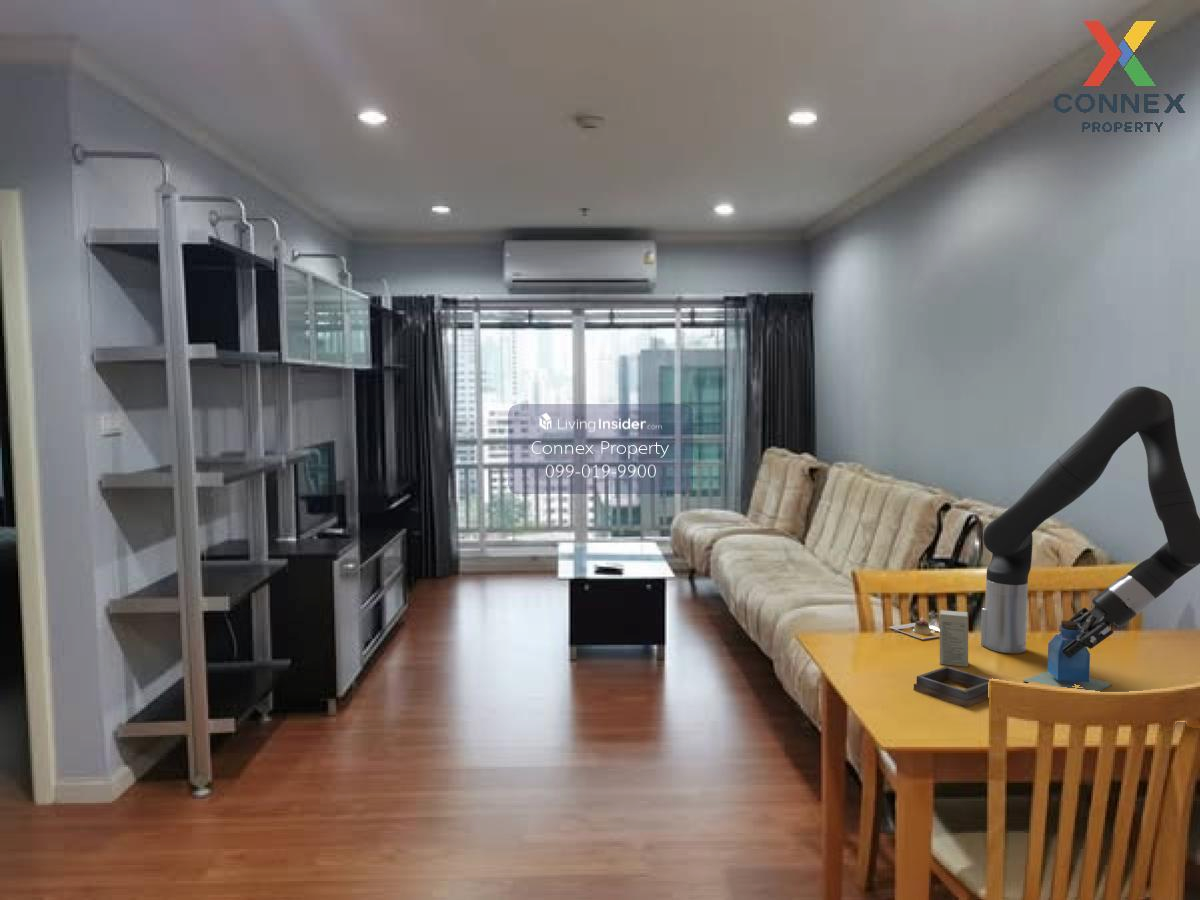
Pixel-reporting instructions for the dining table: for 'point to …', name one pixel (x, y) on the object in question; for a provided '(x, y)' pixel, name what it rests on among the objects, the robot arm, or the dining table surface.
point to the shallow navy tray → (935, 687)
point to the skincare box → (954, 638)
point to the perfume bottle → (1063, 665)
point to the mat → (1068, 682)
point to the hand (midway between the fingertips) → (1060, 649)
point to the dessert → (918, 628)
